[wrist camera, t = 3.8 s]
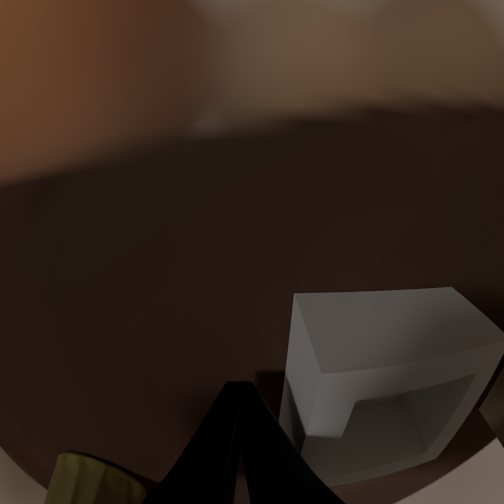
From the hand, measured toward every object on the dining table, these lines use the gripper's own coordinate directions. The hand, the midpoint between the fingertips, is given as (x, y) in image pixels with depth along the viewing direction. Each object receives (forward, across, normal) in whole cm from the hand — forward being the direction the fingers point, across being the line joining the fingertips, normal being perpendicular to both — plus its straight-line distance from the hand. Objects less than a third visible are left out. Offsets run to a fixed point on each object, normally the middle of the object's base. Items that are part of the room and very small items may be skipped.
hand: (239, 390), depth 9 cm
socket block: (+1, -5, 0) cm, 5 cm away
